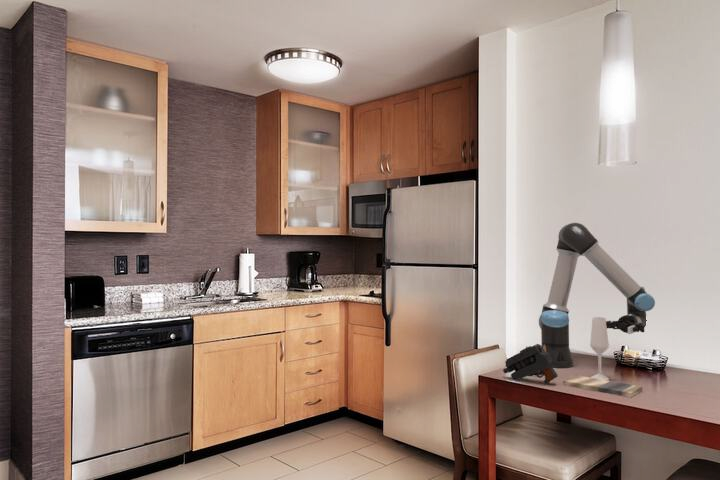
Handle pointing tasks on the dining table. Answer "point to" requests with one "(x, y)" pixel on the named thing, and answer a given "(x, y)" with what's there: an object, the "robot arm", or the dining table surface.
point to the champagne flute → (599, 342)
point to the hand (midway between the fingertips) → (611, 329)
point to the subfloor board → (603, 386)
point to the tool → (531, 364)
